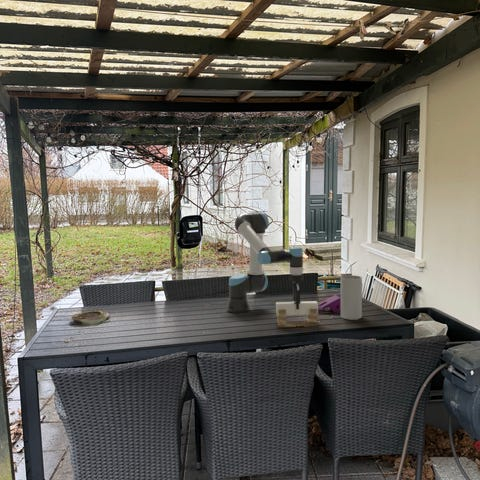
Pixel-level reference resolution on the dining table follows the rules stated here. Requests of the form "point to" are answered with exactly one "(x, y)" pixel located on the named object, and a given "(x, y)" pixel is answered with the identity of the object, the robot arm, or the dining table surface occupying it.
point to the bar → (304, 307)
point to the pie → (90, 317)
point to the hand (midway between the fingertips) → (296, 313)
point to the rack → (310, 322)
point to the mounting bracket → (331, 304)
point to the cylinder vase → (351, 297)
